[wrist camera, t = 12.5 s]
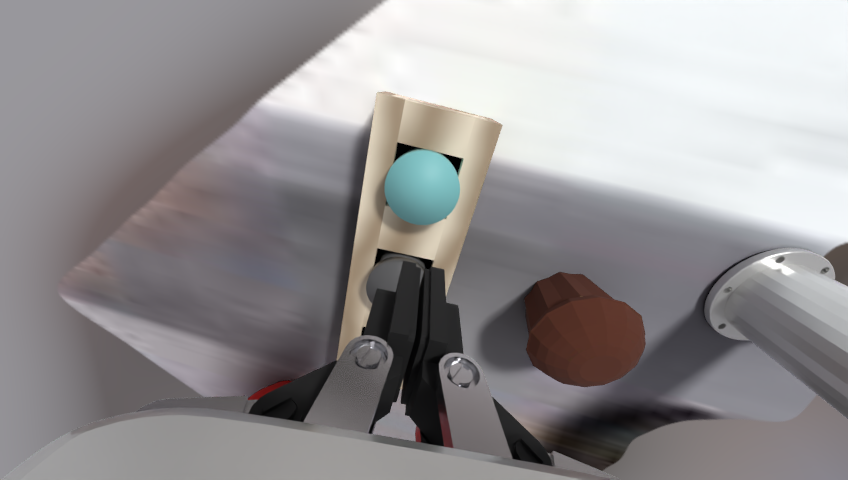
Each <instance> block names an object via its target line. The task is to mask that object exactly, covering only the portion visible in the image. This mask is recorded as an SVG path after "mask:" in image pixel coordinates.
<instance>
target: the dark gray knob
mask: <svg viewBox="0 0 848 480" xmlns="http://www.w3.org/2000/svg"><path fill="white" fill-rule="evenodd" d="M403 260H404V261H409V262H413V263H416V267H419V268H421V274H420V284H421V280H422V277H423V273H424V270H425V269H426V259H425V258H420V257H416V256H411V255H407V254H402V253H397V252H393V251H388V250H384V249H383V250H382V253H381V256H380V260H379V262H378V263H377V264H376V265H375V266H374V267H373V268H372V270H371V272H370V274H369V277H368V280H367V284H366V292H367V296H368V298H369V300H370V302H371V303H373V300H374V296H375V293H376V290H377V288H379V289H383V290H388V291H393V292H396V288H397V284H398V280H399V275H400V271H401V267H402V263H403Z"/></svg>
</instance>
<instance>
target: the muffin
mask: <svg viewBox="0 0 848 480" xmlns="http://www.w3.org/2000/svg"><path fill="white" fill-rule="evenodd" d="M524 300H525V305H526V321H527V327H528V332H529V339H528V344H527V348H526V351H527V353H528V355H529V357H530V360H531V362H532V364H533V366H535V367H536V368H538V369H539V370H541V371H542V372H544V373H545V374H547V375H548V376H550V377H552V378H553V379H555V380H557V381H559V382H561V383H563V384H569V385H575V386H581V387H589V386H598V385H605V384H607V383H610V382H612V381H615V380H617V379H620V378H622V377H623V376H624V375H625V374H627V373H628V372H629V371H630V370H632V369H633V368H634V367H635V366H636V365H637V363H638V361H639V359H640V357H641V355H642V353H643V351H644V348H645V344H646V343H645V330H644V326H643V321H642V316H641V315H640V314H638V313H637V312H636V311H635V310H634V309H632V308H631V307H630V306H629V305H628V304H626V303H625V302H621V301H618V300H614V299H613V298H612V297H610V296H609V295H608V294H607V293H605V292H604V291H603V290H602V289H600V288H599V287H598V286H597V285H595V284H594V283H593V282H592V281H590V280H589V279H588V278H587V277H585V276H584V275H583V274H567V273H562V272H558V273H556V274H555V275H553V276H551V277H549V278H546V279H543V280H540V281H537V282H536V284H535V285H534V287H533V289H532V290H531V292H530V293H529V294H528V295H527V296H526V297H525V298H524Z"/></svg>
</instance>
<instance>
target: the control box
mask: <svg viewBox="0 0 848 480" xmlns="http://www.w3.org/2000/svg"><path fill="white" fill-rule="evenodd" d="M501 128H502V125H501V124H500V123H498V122H496V121H494V120H493V119H490V118H486V117H482V116H478V115H474V114H470V113H467V112H463V111H459V110H455V109H451V108H447V107H443V106H440V105H436V104H432V103H428V102H424V101H420V100H416V99H413V98H409V97H405V96H401V95H397V94H393V93H389V92H377V94H376V101H375V108H374V114H373V121H372V128H371V132H370V138H369V145H368V152H367V158H366V165H365V172H364V178H363V185H362V192H361V198H360V205H359V212H358V218H357V225H356V232H355V238H354V245H353V252H352V258H351V265H350V272H349V278H348V285H347V292H346V298H345V305H344V312H343V319H342V325H341V332H340V339H339V345H338V354H337V360H339V358H340V356H341V354H342V352H343V351H344V349H345V347H346V346H347V344H348V343H349V342H350V341H351V340H353V339H354V338H356V337H359V336H361V333H362V328H363V327H366V324H367V321H368V317H369V314H370V310H371V307H372V303H371V302H370V300H369V298H368V296H367V292H366V284H367V280H368V277H369V274H370V272H371V270H372V268H373V267H374V265H375V260H376V255H377V250H378V248H379V249H384V250H388V251H393V252H397V253H402V254H407V255H411V256H416V257H420V258H425V259H430V260H433V261H432V265H431V266H432V267H436V268H441V269H444V271H445V290H446V294H447V291H448V288H449V285H450V282H451V279H452V276H453V273H454V270H455V267H456V264H457V261H458V258H459V255H460V252H461V249H462V246H463V243H464V240H465V237H466V234H467V231H468V228H469V225H470V222H471V219H472V216H473V213H474V210H475V207H476V204H477V201H478V198H479V195H480V192H481V189H482V186H483V182H484V179H485V176H486V173H487V170H488V167H489V164H490V161H491V158H492V155H493V152H494V149H495V146H496V143H497V140H498V137H499V134H500V131H501ZM398 142H399V143H403V144H407V145H411V146H415V147H419V148H423V149H428V150H433V151H436V152H439V153H443V154H447V155H451V156H455V157H459V158H462V160H461V164H460V167H459V171H458V174H457V175H458V178H459V183H460V195H459V199H458V202H457V204H456V206H455V208H454V209H453V211H452V212H451V213H450V214H449V215H448V216H447V217H446V218H444V219H443V220H441V221H439V222H437V223H434V224H429V225H416V224H412V223H409V222H406V221H404V220H403V219H401V218H400V217H398V216H397V215H396V214H395V213H394V212H393V211H392V209H391V208H390V206H389V205H388V202H387V200H386V196H385V180H386V176H387V174H388V172H389V170H390V168H391V166H392V165H393V163H394V161H395V155H396V150H397V145H398ZM337 360H336V361H337ZM402 385H403V381H402V384H401V388H400V389H402Z"/></svg>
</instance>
